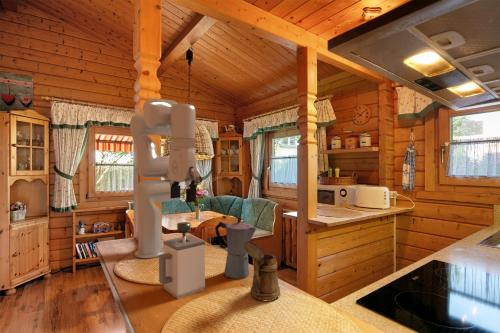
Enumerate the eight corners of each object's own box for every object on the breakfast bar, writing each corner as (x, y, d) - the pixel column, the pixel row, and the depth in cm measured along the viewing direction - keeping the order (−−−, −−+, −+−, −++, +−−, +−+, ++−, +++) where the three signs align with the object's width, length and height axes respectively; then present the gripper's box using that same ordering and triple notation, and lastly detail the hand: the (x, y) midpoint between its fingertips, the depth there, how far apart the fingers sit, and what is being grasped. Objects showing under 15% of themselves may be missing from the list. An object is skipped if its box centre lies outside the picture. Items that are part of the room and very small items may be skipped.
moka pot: (254, 281, 92) (254, 221, 92) (210, 278, 95) (209, 219, 95) (259, 270, 102) (259, 215, 101) (218, 267, 105) (218, 214, 104)
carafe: (154, 291, 86) (154, 242, 85) (189, 280, 94) (189, 235, 94) (168, 302, 79) (167, 249, 79) (205, 289, 87) (204, 241, 87)
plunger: (170, 273, 87) (170, 223, 87) (187, 268, 91) (187, 220, 91) (180, 279, 83) (179, 226, 83) (197, 274, 87) (197, 223, 87)
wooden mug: (235, 302, 79) (235, 238, 78) (260, 285, 90) (260, 229, 90) (262, 312, 74) (262, 243, 74) (285, 292, 85) (285, 232, 85)
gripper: (159, 145, 91) (159, 197, 91) (186, 143, 78) (186, 205, 78) (180, 145, 96) (180, 195, 96) (209, 144, 83) (208, 202, 83)
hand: (182, 199), depth 87 cm, fingers open, 9 cm apart
